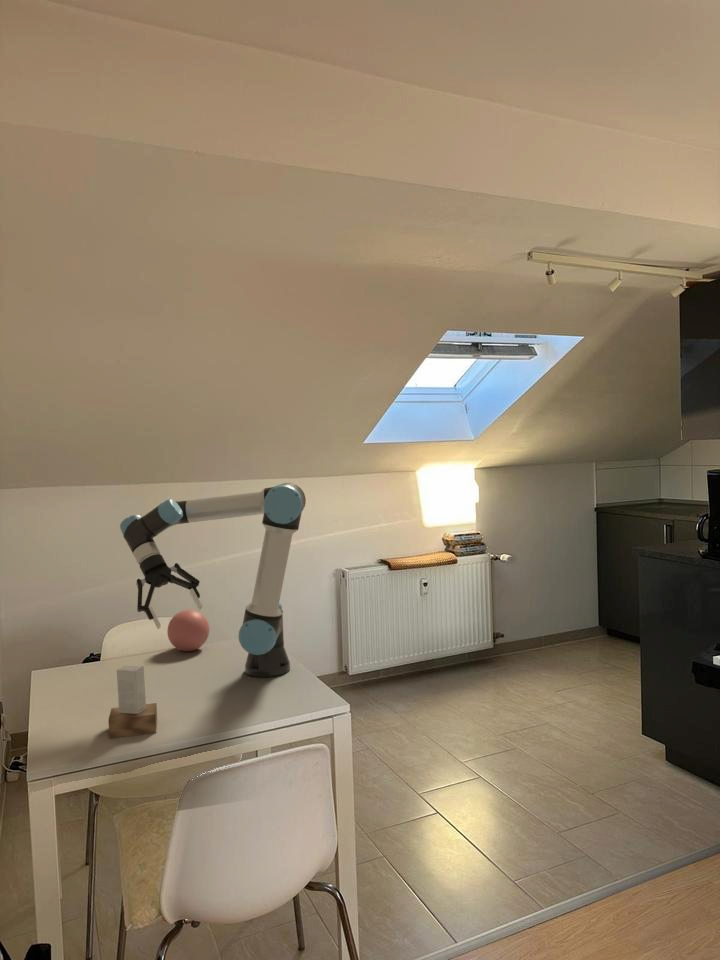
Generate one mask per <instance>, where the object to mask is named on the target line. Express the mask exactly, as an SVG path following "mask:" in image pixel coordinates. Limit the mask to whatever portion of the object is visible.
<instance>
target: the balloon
mask: <svg viewBox="0 0 720 960" xmlns="http://www.w3.org/2000/svg"><path fill="white" fill-rule="evenodd" d="M166 630H167V632H166V633H167V638H168V640H169V642H170V644H171V645H172V646H173V647H174V648H175V649H177V650H179V651H182V652H193V651H195V650H198V649H199V648H201V647H202V646H203V645H204V644H205V643H206V642H207V640H208V638H209V634H210V625H209V621H208V619H207V618H206V617H205V615H204V614H202V613H201V612H199V611H198V610H194V609H185V610H181V611H179V612H177V613H176V614H175V615H173V616H172V618H170V620H169V622H168V626H167V629H166Z"/></svg>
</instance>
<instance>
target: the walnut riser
mask: <svg viewBox="0 0 720 960" xmlns="http://www.w3.org/2000/svg"><path fill="white" fill-rule="evenodd" d="M157 704H158V703H157V702H155V703H154V702H153V703H146V709H145V710H144V711H142V712H141V713H139V714H127V713H119V706H118V707H112V708H111V709H110V712H109V716H108V737H109V739H116V738H115V737H117V738H123V737H122V736H125V737H132V736H131V735H133V736H137V735H136V734H141V735H147V733H149V734H153V732H156V733H157V731H158V730H157V727H158V707H157V706H158V705H157ZM156 730H157V731H156Z"/></svg>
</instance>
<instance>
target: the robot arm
mask: <svg viewBox="0 0 720 960" xmlns="http://www.w3.org/2000/svg"><path fill="white" fill-rule="evenodd" d="M306 500H307V499H306V495H305V493H304V490H303V489H302V488H301V487H300V486H299V485H297V484H294V483H291V482H284V483H281V484H278V485H275V486H270V487H269V486H268V487H265V488H263V489H262V490H261V491H256V492H255V491H254V492H247V493H238V494H229V495H221V496H213V497H206V498H197V499H190V500H189V499H188V500H180V501H178V500H173V499H172V498H168V499H165V500H164V501H163V502H160V503H159V505H157V506H156V507H154V508H153V509H152V510H150V511H148V512H147V513H146V514H145V515H142V516H141V515H139V514H132V515H130V516H127V517H125V519H123V520H122V521H121V522H120V525H119V529H120V531H121V533H122V535H123V536H122V537H123V539H124V540H125V541H126V543H127V545H128V547H129V549H130V552H131V553H132V555H133V557H134V558H135V561H136V563H137V564H138V565H139V568H140V570H141V572H142V574H143V577H144V578H142V579H140V578H137V579H136V586H137V587H136V588H137V603H136V605H137V608H136V609H137V610H136V611H137V612H138V613H140V612H144V613H145V615H146V616H147V618H148V621H151V620H152V621H153V623H154V625H155V627H156V629H157V630H160V628H161V626H162V625H161V622H160V621H159V619H158V617H157V615H156V613H155V610H154V609H153V607H152V606H150V604H151V602H152V601H151V600H152V598H153V594H154V591H155V589H156V588H158V589H160V588H161V587H163V586H165V585H168V584H169V583H170V584H173V585H174V584H175V585H177V586H179V587H182V588H183V589H184V588H185V589H187V590H189V594H190V596H191V599H192V600H193V601H194V604H195V606H196V607H197V609H198V610H199V611H200V610H202V608H203V604H202V603H201V601H200V598H201V594H200V592H199V591H198V589H197V587H199V585H200V580H199V579H197V578H196V577H195V576H193V575H192V574H191V573H189V572H187V571H186V570H184V569H183V568H182V567H181V566H180V564H179V563H177V562H175V563H174V565H173V566H171V567H169V566H168V564H167V562H166V561H165V558H164V557H163V555H162V554H161V551H160V549H159V547H158V546H157V544H156V542H155V540H154V538H155V537H156V536H158V535H160V534H161V533H162V532H164V531H166V530H167V529H168V528H172V527H173V526H176V525H183V524H189V523H190V524H191V523H197V522H207V521H215V520H223V519H231V518H241V517H250V516H258V515H259V516H260V515H262V516H263V517H262V522H261V525H263V527H264V529H265V531H264V536H263V537H264V538H263V541H262V548H261V553H260V558H259V563H258V568H257V573H256V578H255V583H254V588H253V595H252V598H251V602H250V603H249V604H247V605H246V606H245V610H244V615H243V620H242V625H241V626H240V628H239V630H238V641H239V642H238V643H239V644H240V646H241V648H242V649H243V650H245V652H247V653H248V654H247V657H246V661H245V665H244V673H245V674H246V676H249V677H255V678H271V677H278V676H280V675H285V674H287V673H288V672H290V671H291V661H290V660H289V656H288V654H287V651H286V648H285V641H284V619H283V618H284V616H283V615H284V614H283V613H284V610H283V605H282V604H281V603H280V600H281V595H282V590H283V584H284V580H285V574H286V569H287V565H288V558H289V555H290V549H291V543H292V538H293V535H294V533H296V532H298V531H299V528H300V523H301V518H302V513H303V511H304V509H305V507H306V503H307V502H306ZM172 572H174V573H176V574H178V575H179V576H180V577H181V578H180V577H177V576H176V575H174V574H172ZM182 578H183V579H182ZM145 583H146V584H147V585H150V586H149V590H148V593H147V596H146V600H145V602H144V605H143V604H142V603H143V587H144V586H145Z"/></svg>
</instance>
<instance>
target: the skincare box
mask: <svg viewBox="0 0 720 960" xmlns="http://www.w3.org/2000/svg"><path fill="white" fill-rule="evenodd" d="M116 677H117V678H116V681H117V683H116V684H117V696H118V697H117V698H118V699H117V700H118V707H119V713H127V714H139V713H141V712H142V711H144V710H145V709H146V704H147V700H146V697H147V696H146V684H145V668H144V665H143V666H141V665H140V666H139V665H124V666H122V667H119V668H117V669H116Z"/></svg>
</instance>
